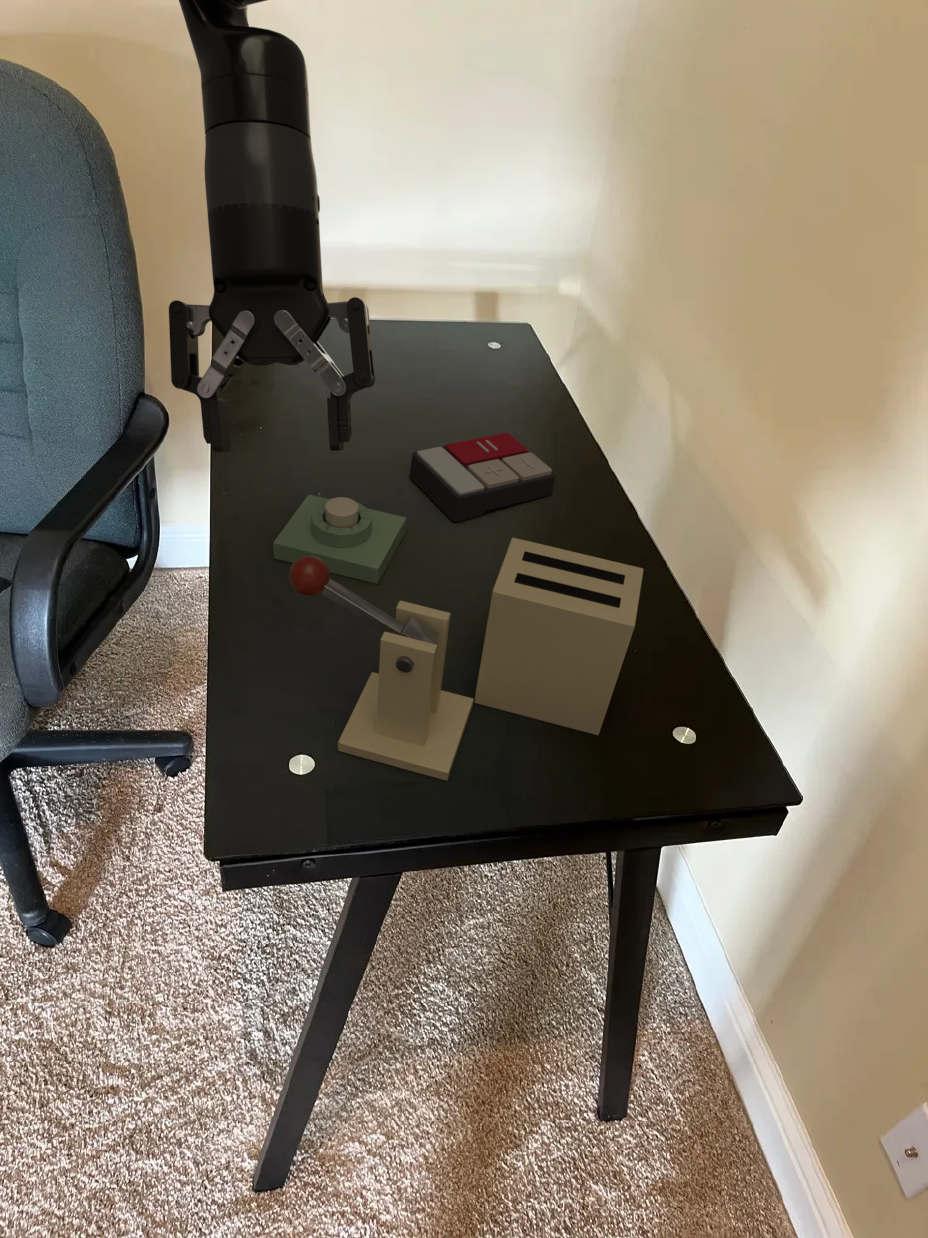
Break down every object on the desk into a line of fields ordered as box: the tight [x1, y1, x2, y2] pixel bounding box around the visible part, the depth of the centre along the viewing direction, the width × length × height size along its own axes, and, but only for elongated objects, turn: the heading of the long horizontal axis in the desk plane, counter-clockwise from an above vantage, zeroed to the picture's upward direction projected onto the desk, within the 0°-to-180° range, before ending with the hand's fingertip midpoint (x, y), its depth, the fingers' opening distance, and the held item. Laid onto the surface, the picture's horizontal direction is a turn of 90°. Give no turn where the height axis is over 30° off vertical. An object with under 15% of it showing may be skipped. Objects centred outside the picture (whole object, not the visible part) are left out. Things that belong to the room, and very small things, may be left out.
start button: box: [325, 496, 358, 528], centre depth 90 cm, size 4×4×2 cm
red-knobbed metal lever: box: [288, 556, 440, 644], centre depth 67 cm, size 13×3×3 cm, turn 76°
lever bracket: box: [337, 600, 475, 782], centre depth 71 cm, size 10×9×13 cm
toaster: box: [473, 537, 644, 736], centre depth 75 cm, size 12×8×14 cm, turn 76°
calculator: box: [409, 432, 557, 523], centre depth 104 cm, size 11×4×15 cm
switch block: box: [272, 493, 407, 585], centre depth 92 cm, size 12×10×4 cm
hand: (279, 450), depth 61 cm, fingers open, 8 cm apart
